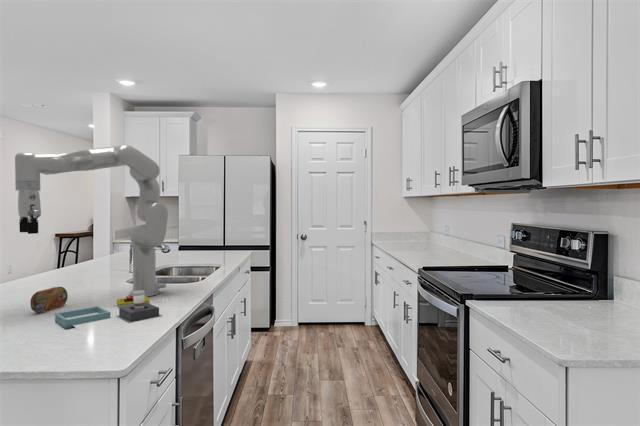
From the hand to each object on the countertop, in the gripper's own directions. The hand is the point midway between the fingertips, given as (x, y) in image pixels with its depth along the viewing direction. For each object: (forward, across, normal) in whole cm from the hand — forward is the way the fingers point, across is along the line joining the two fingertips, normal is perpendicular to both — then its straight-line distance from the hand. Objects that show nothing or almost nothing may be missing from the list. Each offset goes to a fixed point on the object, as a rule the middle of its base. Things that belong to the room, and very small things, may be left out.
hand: (28, 232), depth 152 cm
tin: (+31, +2, -7) cm, 31 cm away
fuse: (+30, -36, -24) cm, 52 cm away
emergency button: (+31, -18, -31) cm, 47 cm away
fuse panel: (+31, -36, -24) cm, 53 cm away
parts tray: (+30, -25, -9) cm, 40 cm away
